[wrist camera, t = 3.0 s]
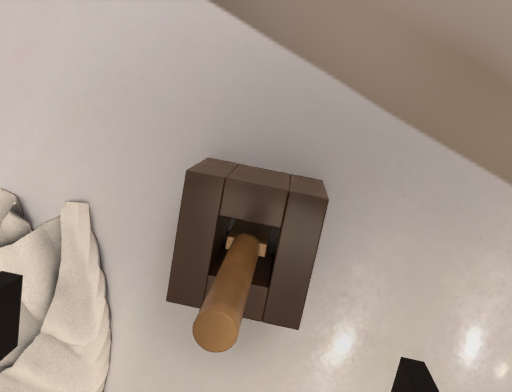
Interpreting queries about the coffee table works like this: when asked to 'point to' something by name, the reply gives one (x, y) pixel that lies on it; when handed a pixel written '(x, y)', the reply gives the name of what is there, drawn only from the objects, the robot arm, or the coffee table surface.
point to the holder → (256, 211)
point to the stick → (231, 287)
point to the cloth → (55, 302)
